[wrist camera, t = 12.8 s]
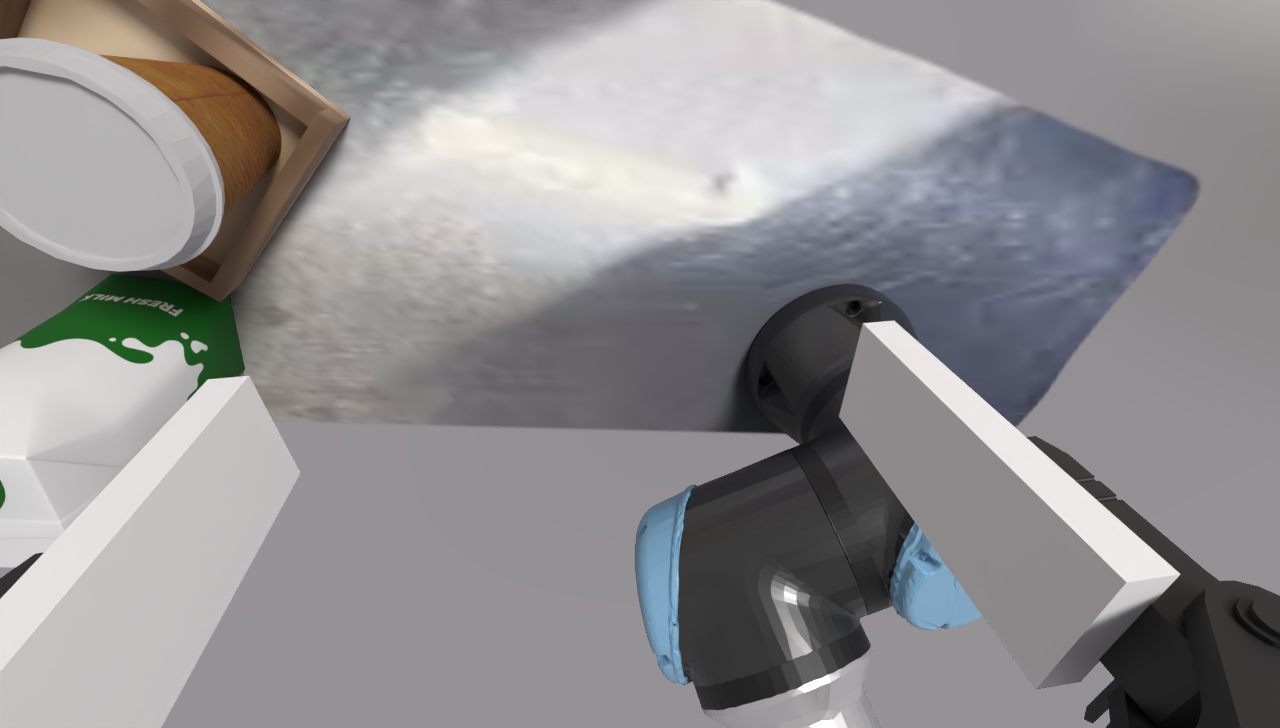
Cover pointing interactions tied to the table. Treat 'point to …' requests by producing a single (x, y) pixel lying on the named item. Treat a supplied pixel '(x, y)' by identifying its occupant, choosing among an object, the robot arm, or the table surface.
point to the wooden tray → (192, 33)
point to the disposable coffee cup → (124, 153)
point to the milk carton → (98, 396)
